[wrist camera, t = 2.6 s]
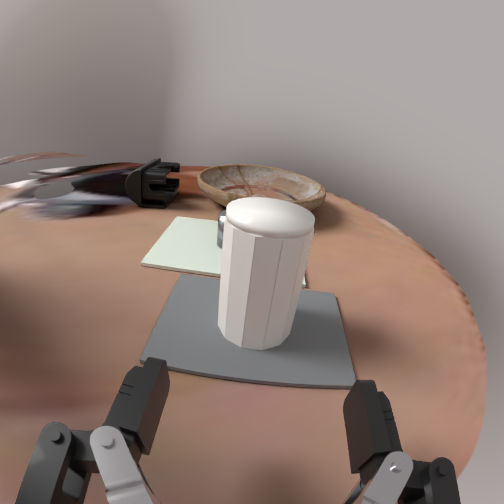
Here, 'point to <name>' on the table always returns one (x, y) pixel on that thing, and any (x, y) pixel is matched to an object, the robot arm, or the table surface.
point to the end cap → (153, 184)
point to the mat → (250, 360)
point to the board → (188, 248)
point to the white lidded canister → (262, 269)
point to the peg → (220, 228)
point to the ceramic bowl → (259, 185)
